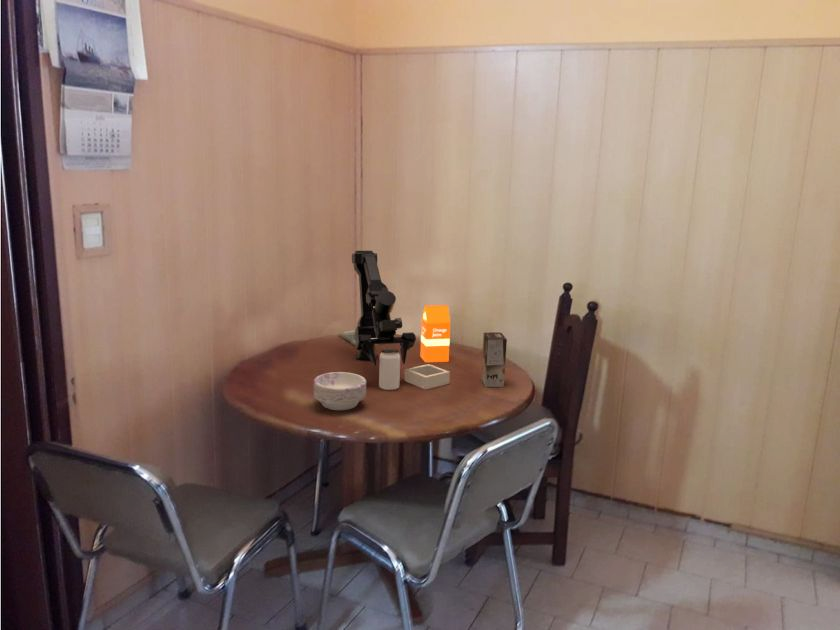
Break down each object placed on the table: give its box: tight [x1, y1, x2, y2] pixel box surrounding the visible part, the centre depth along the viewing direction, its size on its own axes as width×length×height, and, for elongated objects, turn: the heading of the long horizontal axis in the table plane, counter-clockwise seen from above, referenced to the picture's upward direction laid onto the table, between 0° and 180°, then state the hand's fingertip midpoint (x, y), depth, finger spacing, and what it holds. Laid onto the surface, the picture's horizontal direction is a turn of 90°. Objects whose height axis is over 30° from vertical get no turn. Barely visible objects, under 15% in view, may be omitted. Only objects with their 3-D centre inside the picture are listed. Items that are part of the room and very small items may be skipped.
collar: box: [404, 363, 451, 390], centre depth 224 cm, size 10×10×4 cm
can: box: [378, 348, 401, 391], centre depth 216 cm, size 6×6×12 cm
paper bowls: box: [313, 371, 367, 412], centre depth 200 cm, size 15×15×8 cm
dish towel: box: [338, 329, 380, 347], centre depth 273 cm, size 19×18×3 cm
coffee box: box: [480, 331, 508, 388], centre depth 224 cm, size 9×6×16 cm
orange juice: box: [419, 304, 451, 363], centre depth 248 cm, size 8×9×20 cm
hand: (389, 364), depth 216 cm, fingers open, 9 cm apart
